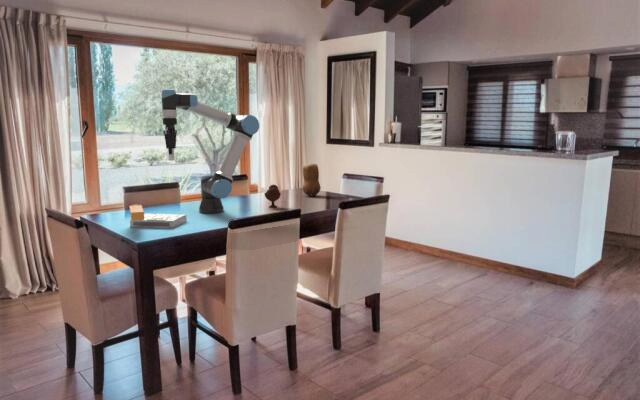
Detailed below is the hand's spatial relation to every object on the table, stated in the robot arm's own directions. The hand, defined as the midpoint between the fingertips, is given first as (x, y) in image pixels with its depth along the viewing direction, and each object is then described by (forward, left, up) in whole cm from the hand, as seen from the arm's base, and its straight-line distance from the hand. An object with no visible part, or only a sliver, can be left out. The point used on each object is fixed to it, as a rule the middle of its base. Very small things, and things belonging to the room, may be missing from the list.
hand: (171, 159), depth 273 cm
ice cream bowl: (-48, +47, -35) cm, 76 cm away
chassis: (+13, -3, -34) cm, 37 cm away
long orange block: (+27, -8, -27) cm, 39 cm away
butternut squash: (-100, +65, -35) cm, 124 cm away
